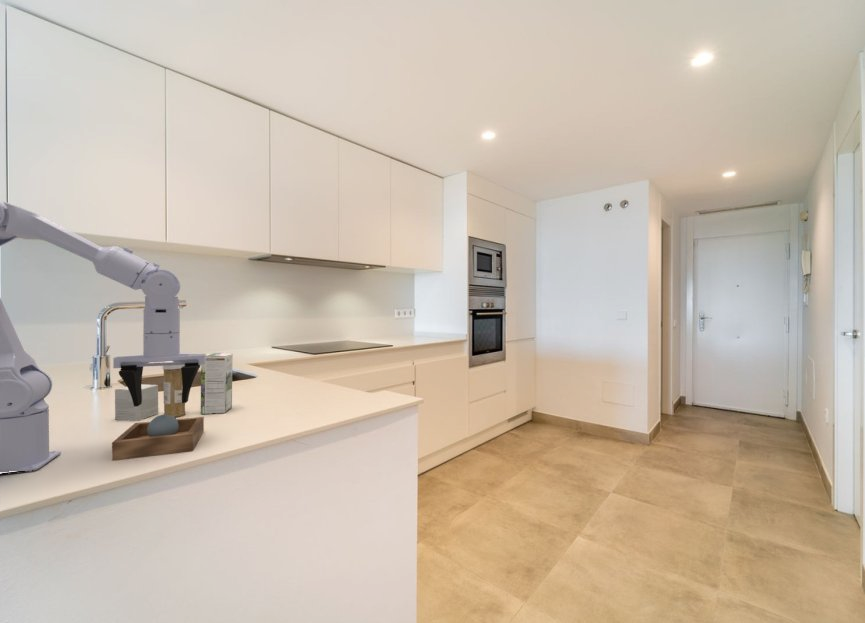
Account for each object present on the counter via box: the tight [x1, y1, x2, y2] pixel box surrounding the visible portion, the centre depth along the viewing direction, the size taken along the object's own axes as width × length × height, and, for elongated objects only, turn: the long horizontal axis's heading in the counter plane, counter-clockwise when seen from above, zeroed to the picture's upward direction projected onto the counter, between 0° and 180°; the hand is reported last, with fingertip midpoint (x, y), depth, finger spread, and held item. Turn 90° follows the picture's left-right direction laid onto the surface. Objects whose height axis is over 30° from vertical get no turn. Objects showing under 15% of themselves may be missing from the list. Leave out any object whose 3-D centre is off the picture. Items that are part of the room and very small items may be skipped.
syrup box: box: [200, 352, 234, 415], centre depth 98 cm, size 6×6×14 cm
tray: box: [111, 416, 205, 461], centre depth 75 cm, size 12×12×3 cm
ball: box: [147, 414, 179, 437], centre depth 75 cm, size 5×5×5 cm
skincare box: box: [114, 383, 159, 422], centre depth 93 cm, size 6×6×7 cm
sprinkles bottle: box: [162, 361, 187, 418], centre depth 94 cm, size 5×5×14 cm
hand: (161, 403), depth 75 cm, fingers open, 7 cm apart
